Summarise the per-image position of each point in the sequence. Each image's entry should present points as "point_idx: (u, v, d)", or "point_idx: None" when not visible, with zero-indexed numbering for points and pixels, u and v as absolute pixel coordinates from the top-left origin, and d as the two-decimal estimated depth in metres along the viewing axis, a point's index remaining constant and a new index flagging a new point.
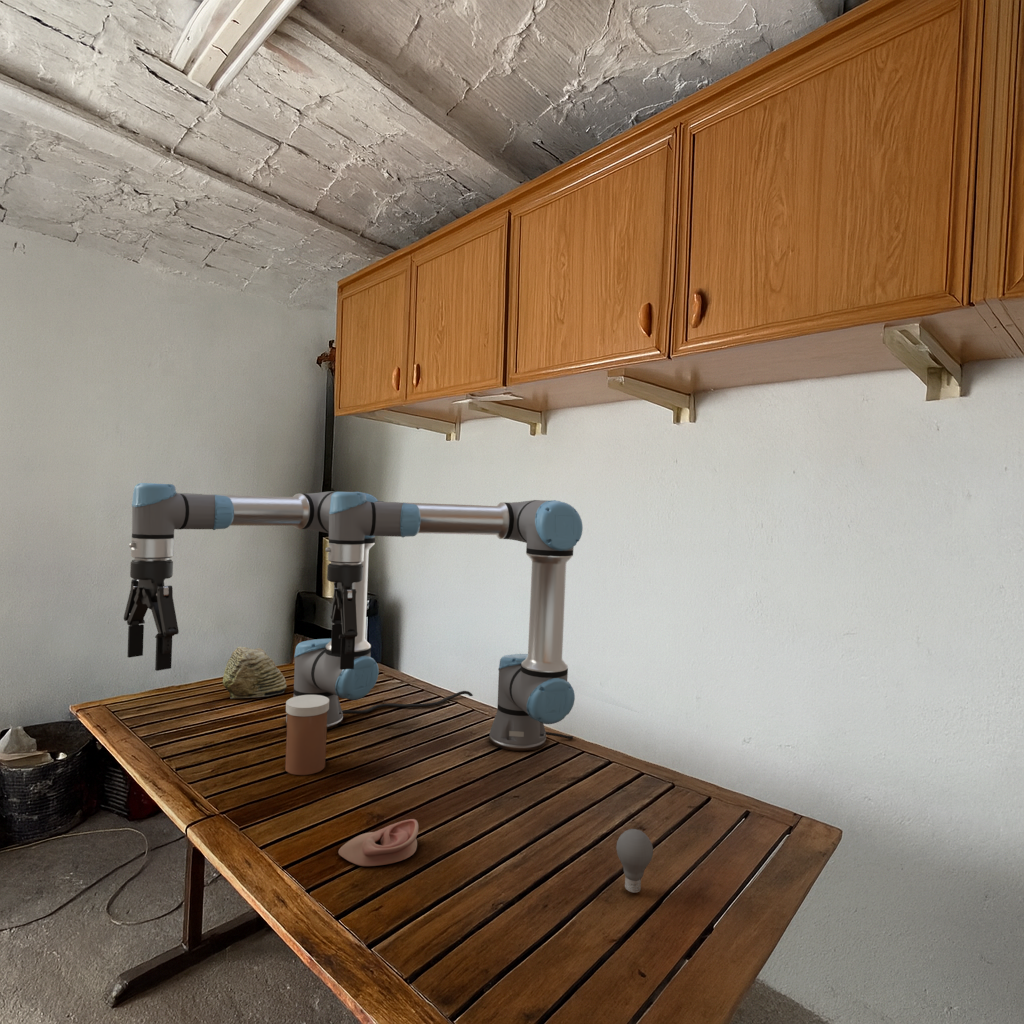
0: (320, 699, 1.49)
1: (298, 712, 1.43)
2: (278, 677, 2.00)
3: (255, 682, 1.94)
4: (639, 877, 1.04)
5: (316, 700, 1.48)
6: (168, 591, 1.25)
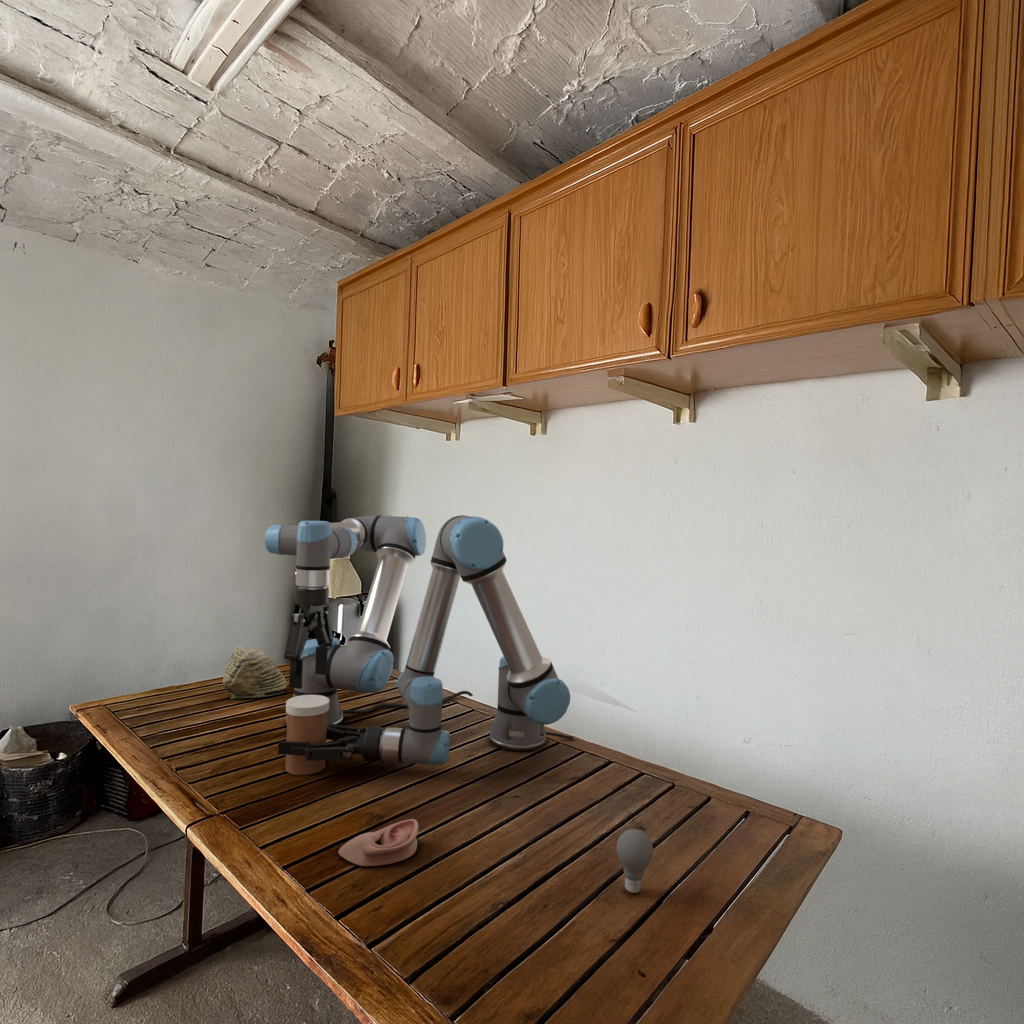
0: (320, 699, 1.49)
1: (298, 712, 1.43)
2: (278, 677, 2.00)
3: (255, 682, 1.94)
4: (639, 877, 1.04)
5: (316, 700, 1.48)
6: (297, 619, 1.41)
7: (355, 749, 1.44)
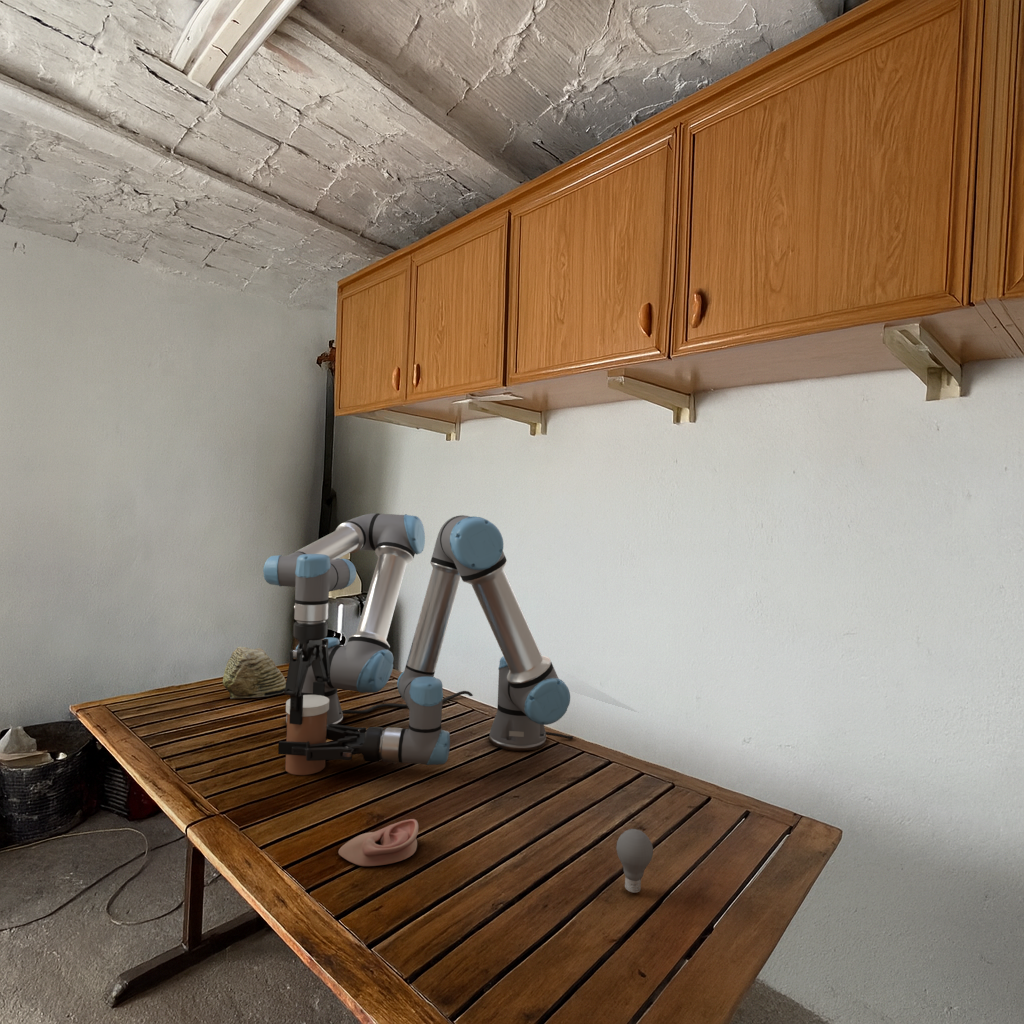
0: (320, 699, 1.49)
1: None
2: (278, 677, 2.00)
3: (255, 682, 1.94)
4: (639, 877, 1.04)
5: (316, 700, 1.48)
6: (296, 656, 1.41)
7: (355, 749, 1.44)
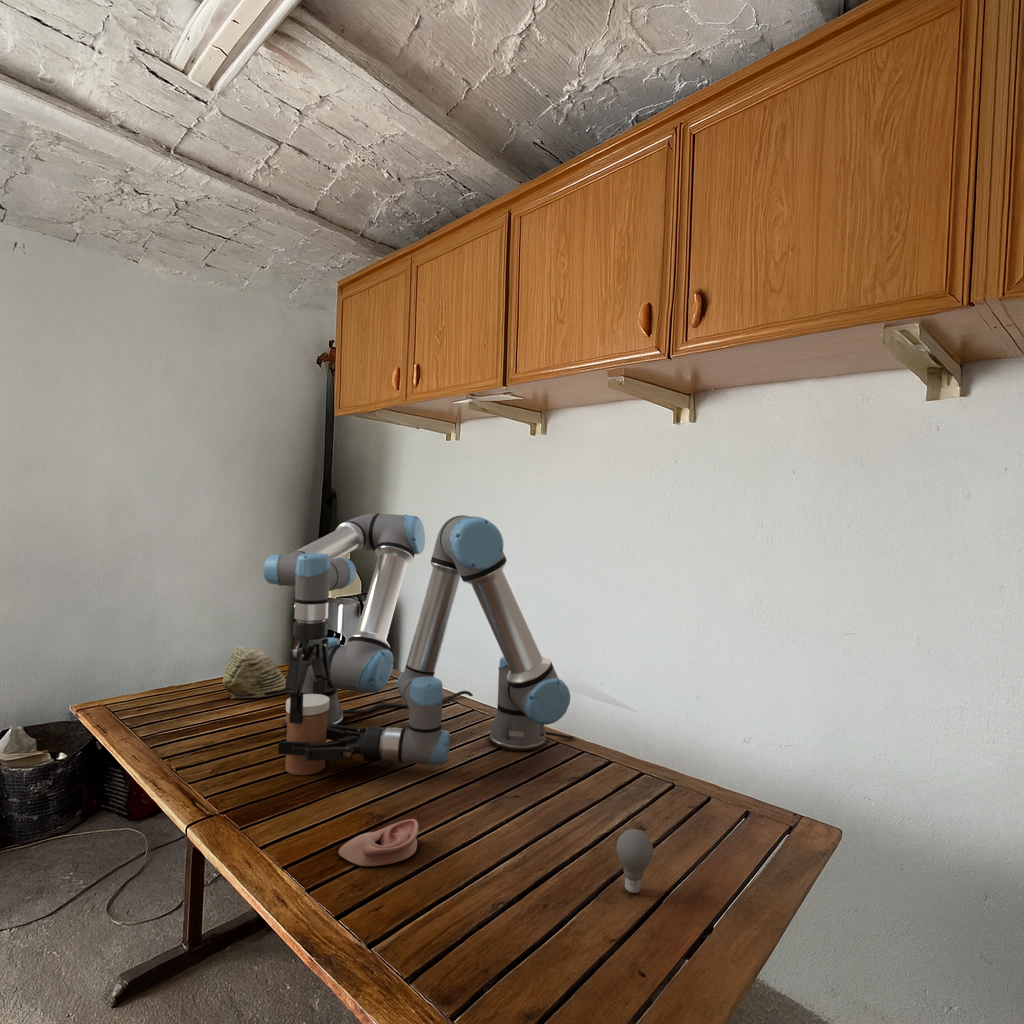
0: (310, 696, 1.51)
1: (321, 709, 1.45)
2: (278, 677, 2.00)
3: (255, 682, 1.94)
4: (639, 877, 1.04)
5: (312, 697, 1.50)
6: (296, 655, 1.41)
7: (355, 749, 1.44)
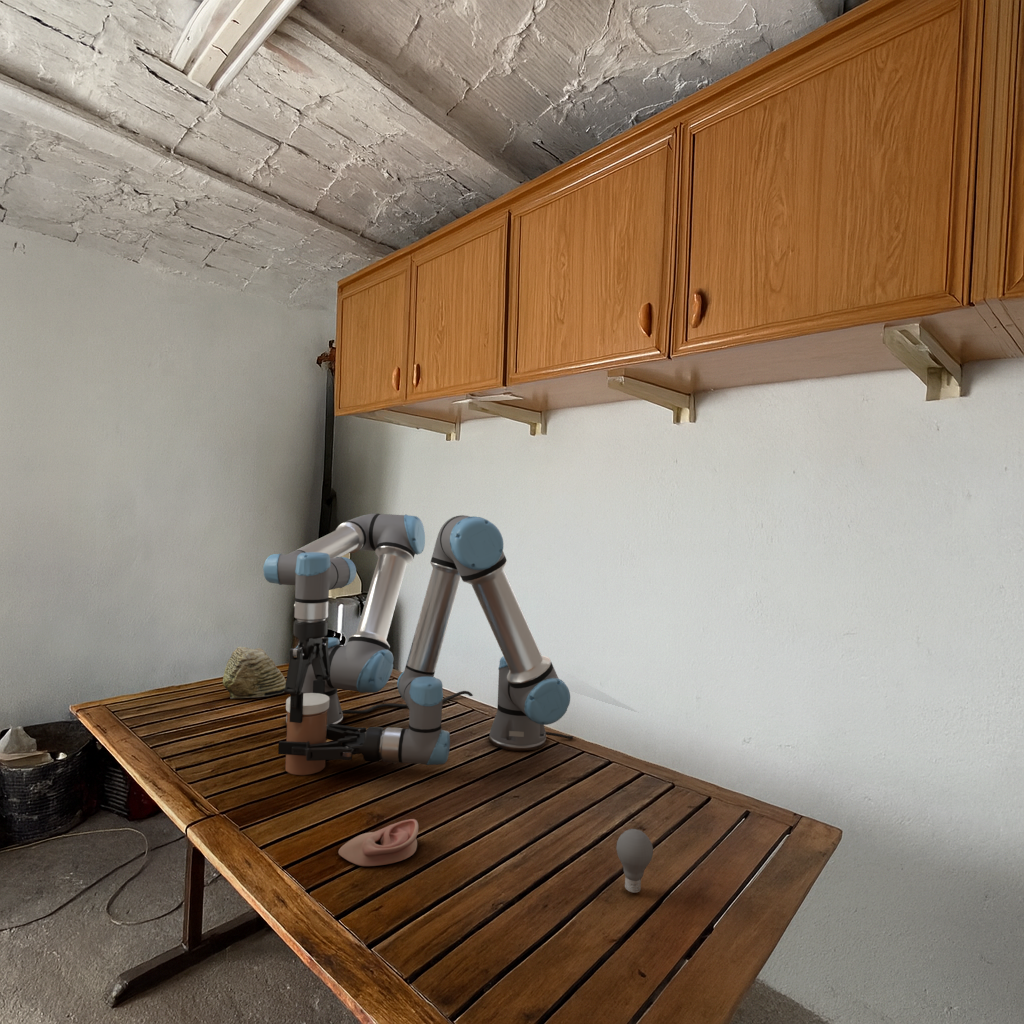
0: None
1: None
2: (278, 677, 2.00)
3: (255, 682, 1.94)
4: (639, 877, 1.04)
5: (303, 697, 1.49)
6: (296, 654, 1.41)
7: (355, 749, 1.44)
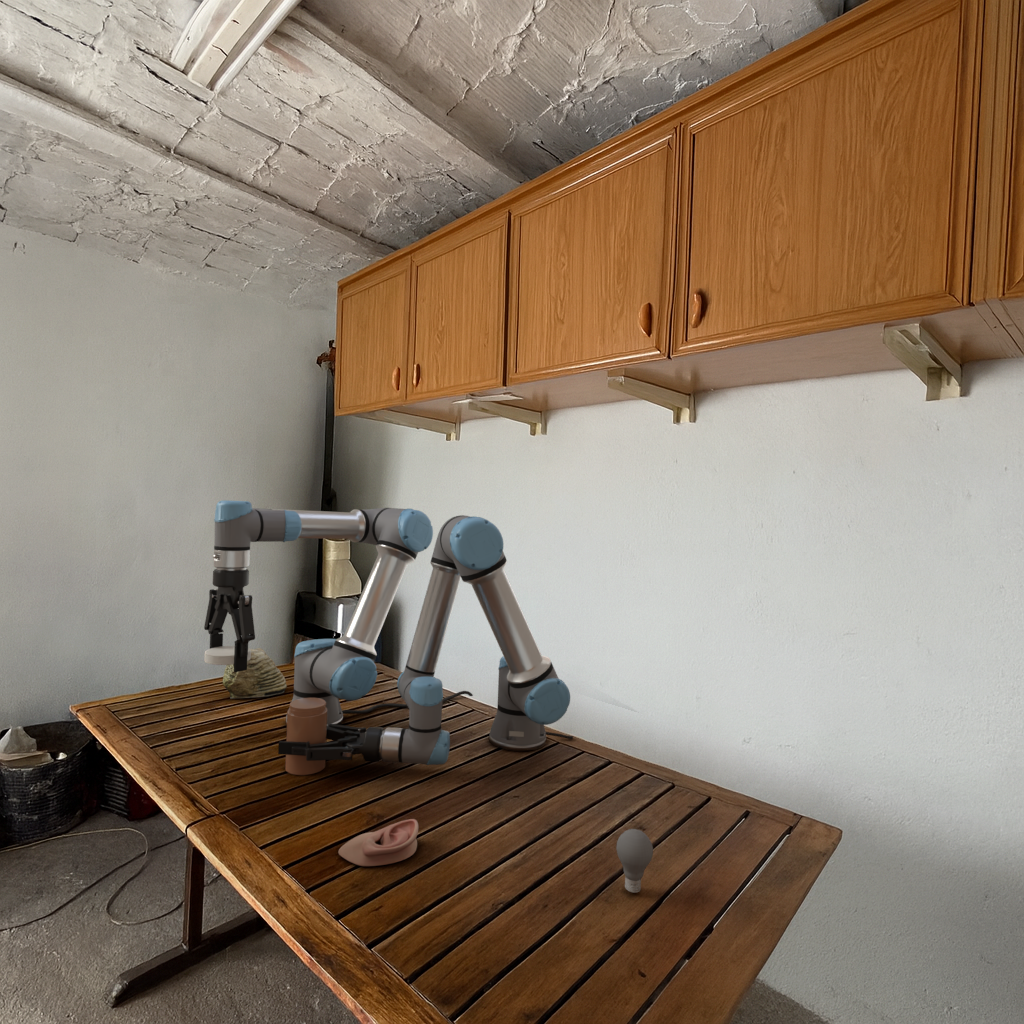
0: (214, 652, 1.42)
1: None
2: (278, 677, 2.00)
3: (255, 682, 1.94)
4: (639, 877, 1.04)
5: (219, 651, 1.43)
6: (249, 601, 1.40)
7: (355, 749, 1.44)
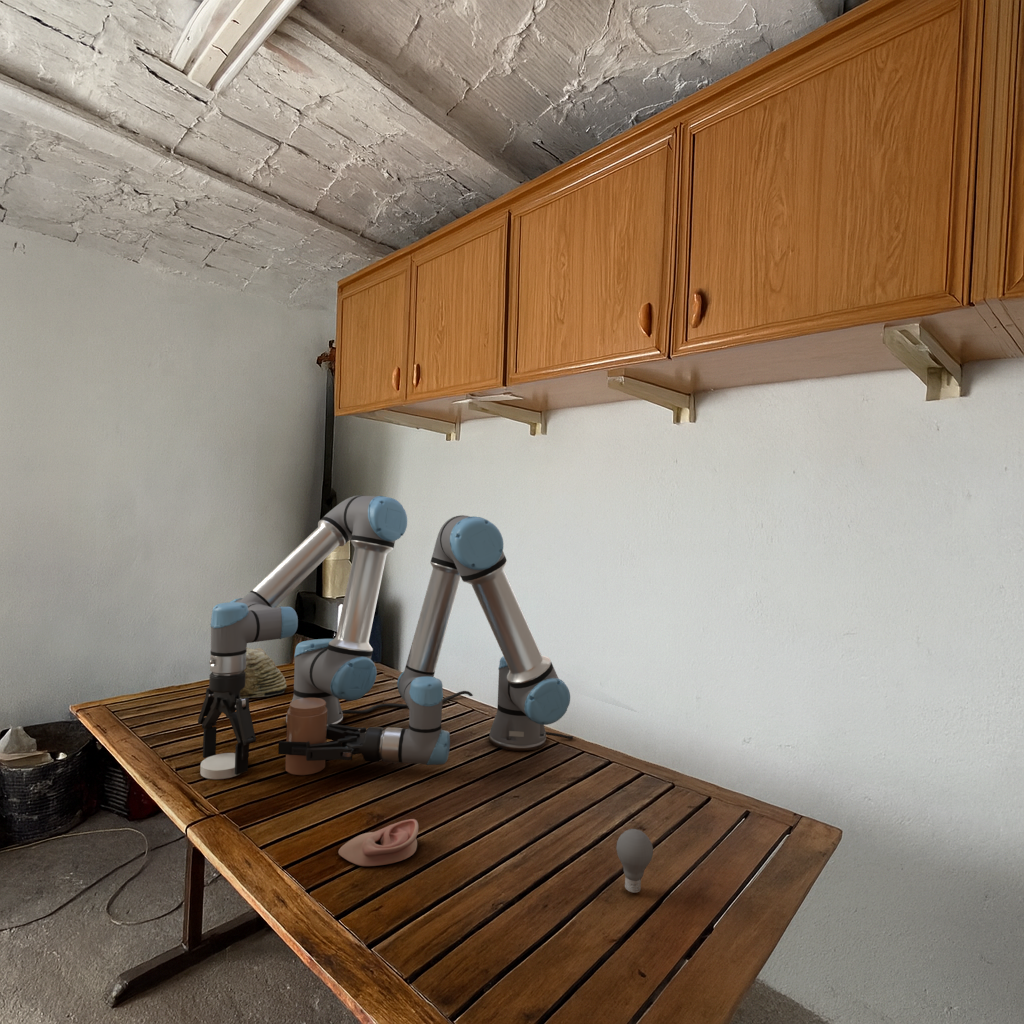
0: (210, 764, 1.42)
1: None
2: (278, 677, 2.00)
3: (255, 682, 1.94)
4: (639, 877, 1.04)
5: (215, 762, 1.44)
6: (245, 703, 1.41)
7: (355, 749, 1.44)
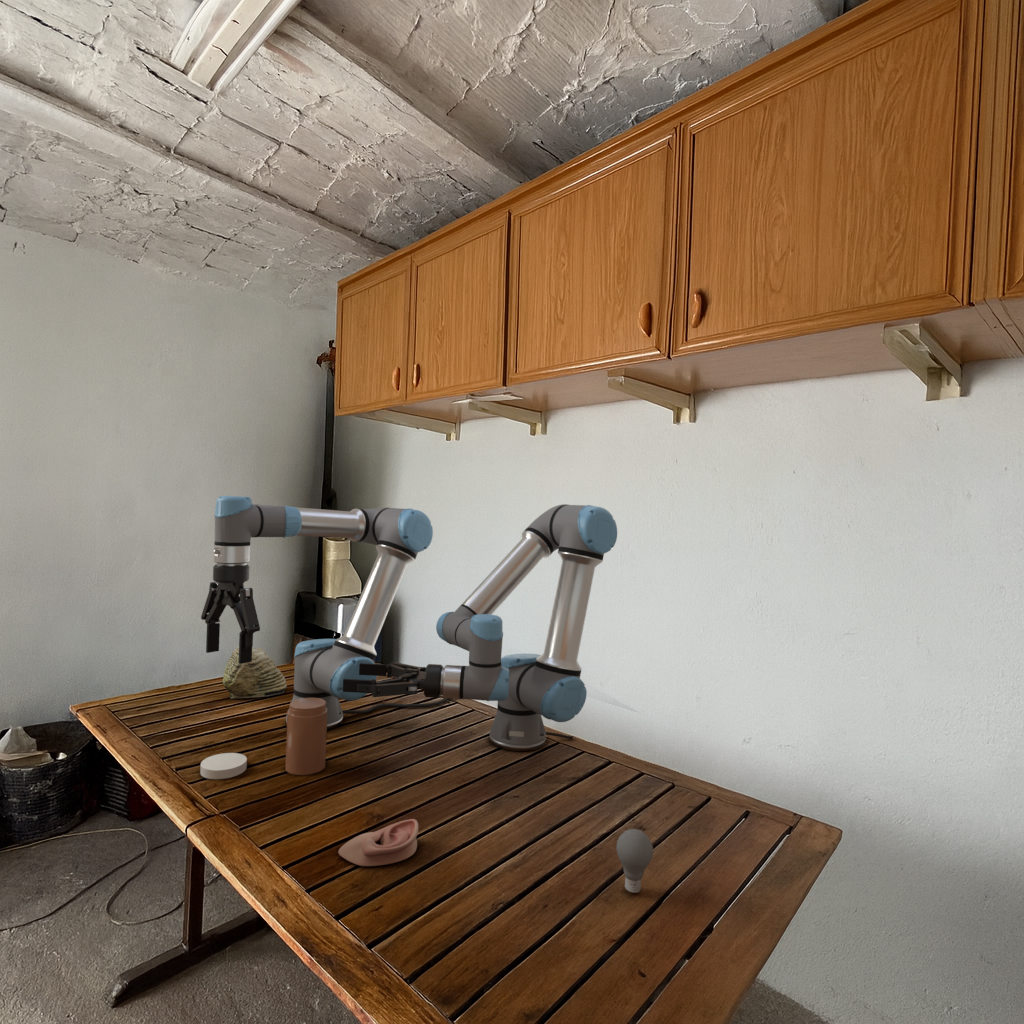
0: (210, 764, 1.42)
1: None
2: (278, 677, 2.00)
3: (255, 682, 1.94)
4: (639, 877, 1.04)
5: (215, 762, 1.44)
6: (249, 593, 1.40)
7: (417, 684, 1.43)
